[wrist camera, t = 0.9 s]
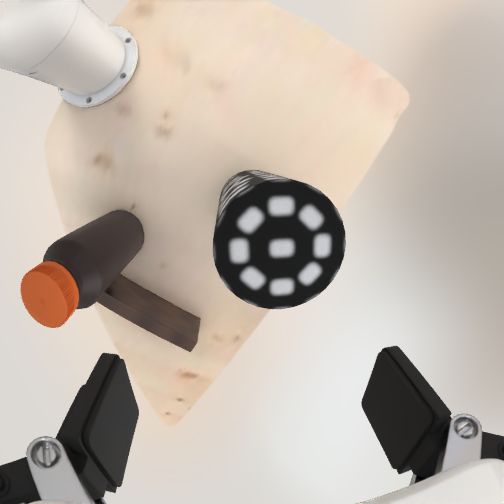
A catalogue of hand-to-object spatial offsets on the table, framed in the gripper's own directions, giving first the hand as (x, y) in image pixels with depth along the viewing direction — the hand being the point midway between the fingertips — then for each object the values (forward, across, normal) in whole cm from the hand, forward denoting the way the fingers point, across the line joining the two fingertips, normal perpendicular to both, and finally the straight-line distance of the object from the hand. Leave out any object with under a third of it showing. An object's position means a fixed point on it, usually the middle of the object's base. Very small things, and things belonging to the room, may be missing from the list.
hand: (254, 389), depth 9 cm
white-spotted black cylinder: (+29, -2, -2) cm, 29 cm away
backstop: (+29, +11, +12) cm, 33 cm away
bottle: (+29, +15, +2) cm, 33 cm away
